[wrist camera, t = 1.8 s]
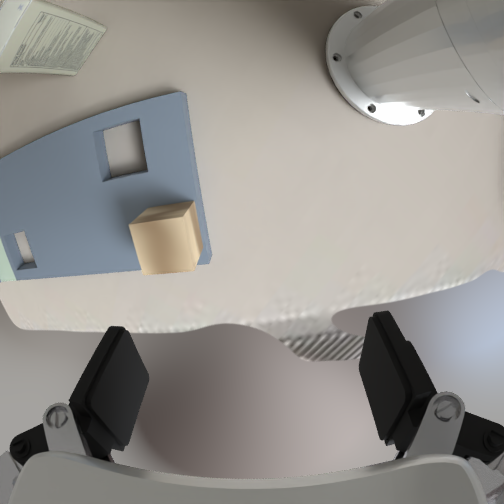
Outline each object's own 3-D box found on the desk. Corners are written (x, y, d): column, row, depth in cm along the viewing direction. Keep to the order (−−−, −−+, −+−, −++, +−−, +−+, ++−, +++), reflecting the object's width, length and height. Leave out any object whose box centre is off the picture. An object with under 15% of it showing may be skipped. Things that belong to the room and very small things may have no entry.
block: (194, 200, 24) (182, 217, 20) (203, 247, 26) (194, 271, 22) (147, 207, 25) (128, 224, 21) (158, 252, 27) (143, 275, 23)
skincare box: (85, 16, 17) (12, -13, 6) (109, 28, 19) (35, -5, 7) (52, 64, 19) (-28, 58, 8) (74, 79, 21) (-11, 74, 10)
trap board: (186, 93, 22) (174, 88, 19) (212, 254, 29) (206, 274, 25) (-25, 176, 24) (-43, 184, 21) (5, 275, 31) (-10, 288, 27)
